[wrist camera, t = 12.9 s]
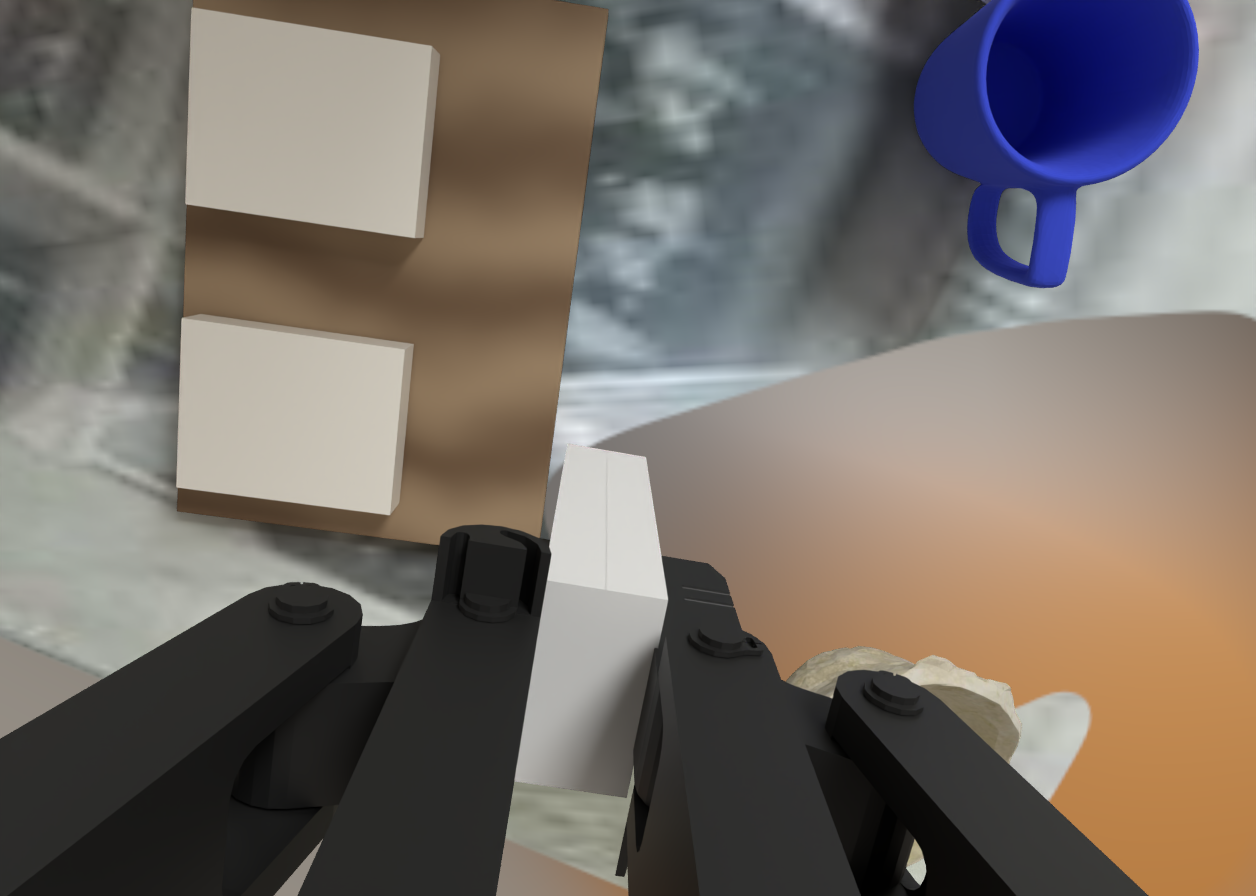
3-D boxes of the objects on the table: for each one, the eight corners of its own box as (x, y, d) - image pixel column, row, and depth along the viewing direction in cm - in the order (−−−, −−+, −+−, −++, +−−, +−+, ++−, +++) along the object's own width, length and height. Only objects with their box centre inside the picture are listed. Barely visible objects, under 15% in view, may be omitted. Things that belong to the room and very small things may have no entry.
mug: (877, 274, 44) (953, 288, 35) (899, 7, 41) (990, -61, 32) (1042, 278, 44) (1164, 292, 35) (1076, 12, 42) (1219, -54, 32)
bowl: (824, 869, 52) (874, 1016, 43) (662, 710, 50) (675, 828, 40) (1031, 709, 50) (1133, 825, 40) (873, 534, 47) (942, 612, 38)
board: (207, -51, 40) (195, -59, 39) (608, 15, 41) (608, 9, 40) (188, 504, 46) (177, 511, 45) (538, 549, 47) (536, 557, 46)
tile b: (414, 343, 43) (202, 313, 43) (404, 349, 41) (181, 318, 41) (400, 502, 45) (196, 475, 45) (390, 515, 43) (176, 487, 42)
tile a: (440, 55, 40) (213, 18, 40) (431, 45, 38) (191, 7, 38) (424, 237, 42) (206, 205, 42) (414, 238, 40) (185, 204, 39)
